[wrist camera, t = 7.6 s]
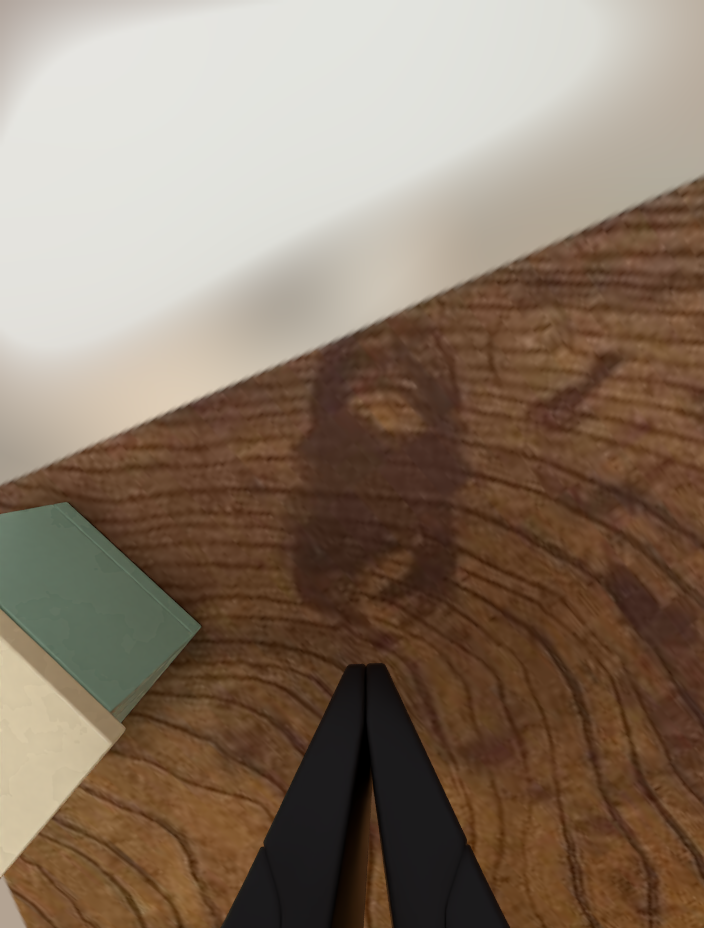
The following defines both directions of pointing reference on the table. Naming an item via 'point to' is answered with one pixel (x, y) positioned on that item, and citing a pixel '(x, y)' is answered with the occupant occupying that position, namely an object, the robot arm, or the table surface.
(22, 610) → the green boxy piece
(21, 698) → the lid
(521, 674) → the table surface
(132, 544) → the table surface
